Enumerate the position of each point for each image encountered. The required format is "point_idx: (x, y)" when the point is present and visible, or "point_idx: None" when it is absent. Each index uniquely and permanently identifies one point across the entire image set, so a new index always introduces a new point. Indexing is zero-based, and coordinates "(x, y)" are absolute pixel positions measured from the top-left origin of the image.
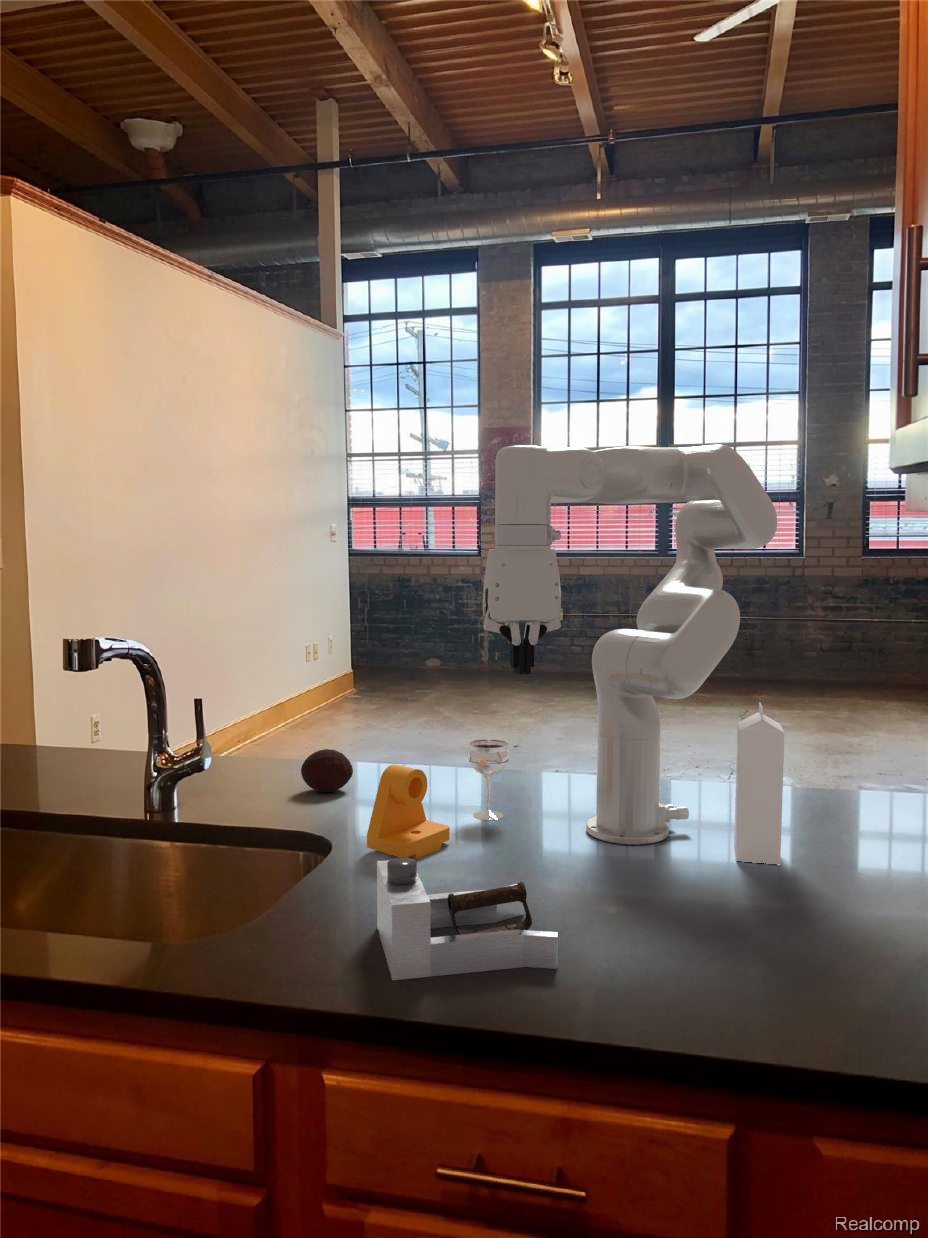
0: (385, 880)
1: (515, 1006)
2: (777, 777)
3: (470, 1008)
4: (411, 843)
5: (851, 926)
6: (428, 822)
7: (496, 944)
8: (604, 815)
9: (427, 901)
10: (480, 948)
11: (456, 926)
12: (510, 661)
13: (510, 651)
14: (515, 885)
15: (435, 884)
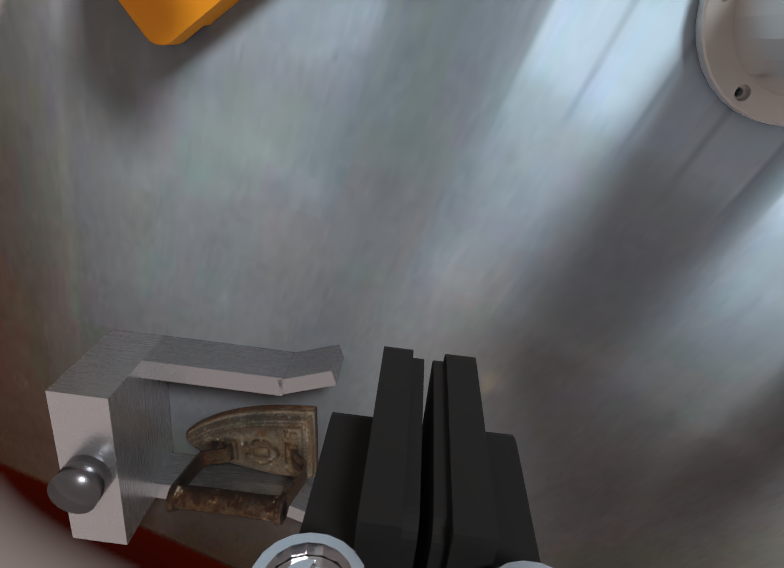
0: (62, 465)
1: (255, 539)
2: None
3: (207, 528)
4: (178, 35)
5: (774, 527)
6: None
7: None
8: (755, 29)
9: (122, 543)
10: None
11: (193, 478)
12: (327, 434)
13: (310, 501)
14: (268, 516)
15: (227, 191)
